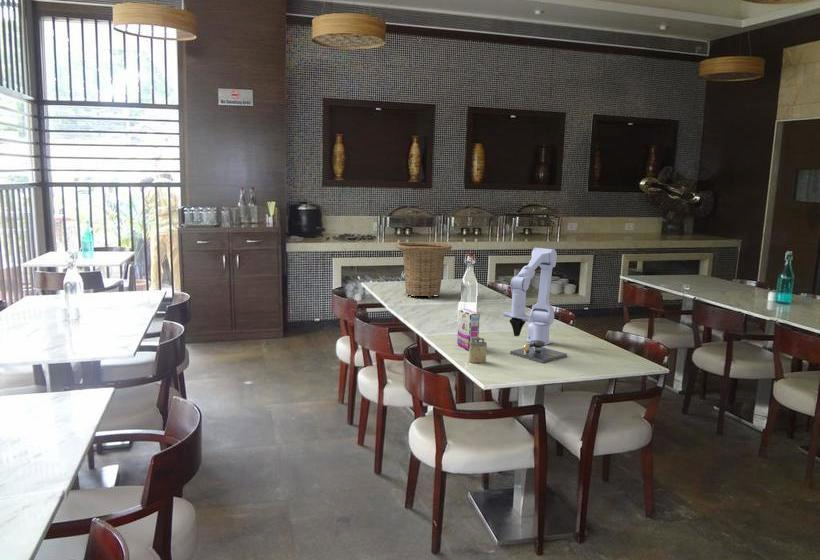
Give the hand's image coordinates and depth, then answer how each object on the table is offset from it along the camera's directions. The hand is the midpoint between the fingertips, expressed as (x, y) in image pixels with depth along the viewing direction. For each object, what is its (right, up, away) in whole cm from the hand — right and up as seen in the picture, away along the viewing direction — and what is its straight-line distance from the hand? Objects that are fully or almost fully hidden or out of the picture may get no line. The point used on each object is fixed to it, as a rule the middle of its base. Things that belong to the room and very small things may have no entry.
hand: (516, 335), depth 264 cm
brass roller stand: (+7, -6, 0) cm, 10 cm away
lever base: (+9, -8, 0) cm, 13 cm away
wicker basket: (-38, +13, +132) cm, 138 cm away
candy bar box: (-20, -6, +10) cm, 23 cm away
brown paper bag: (-18, -10, -12) cm, 24 cm away
